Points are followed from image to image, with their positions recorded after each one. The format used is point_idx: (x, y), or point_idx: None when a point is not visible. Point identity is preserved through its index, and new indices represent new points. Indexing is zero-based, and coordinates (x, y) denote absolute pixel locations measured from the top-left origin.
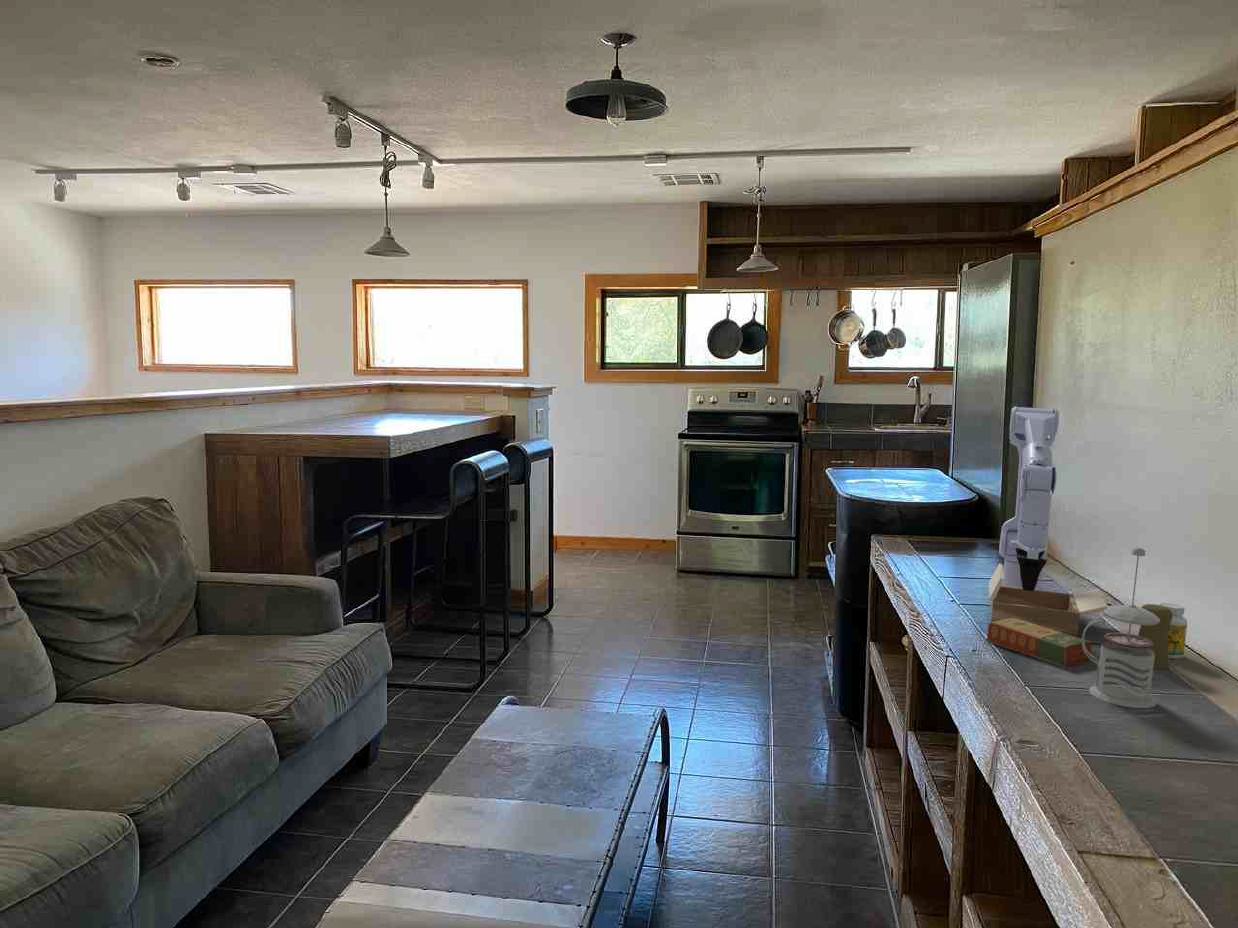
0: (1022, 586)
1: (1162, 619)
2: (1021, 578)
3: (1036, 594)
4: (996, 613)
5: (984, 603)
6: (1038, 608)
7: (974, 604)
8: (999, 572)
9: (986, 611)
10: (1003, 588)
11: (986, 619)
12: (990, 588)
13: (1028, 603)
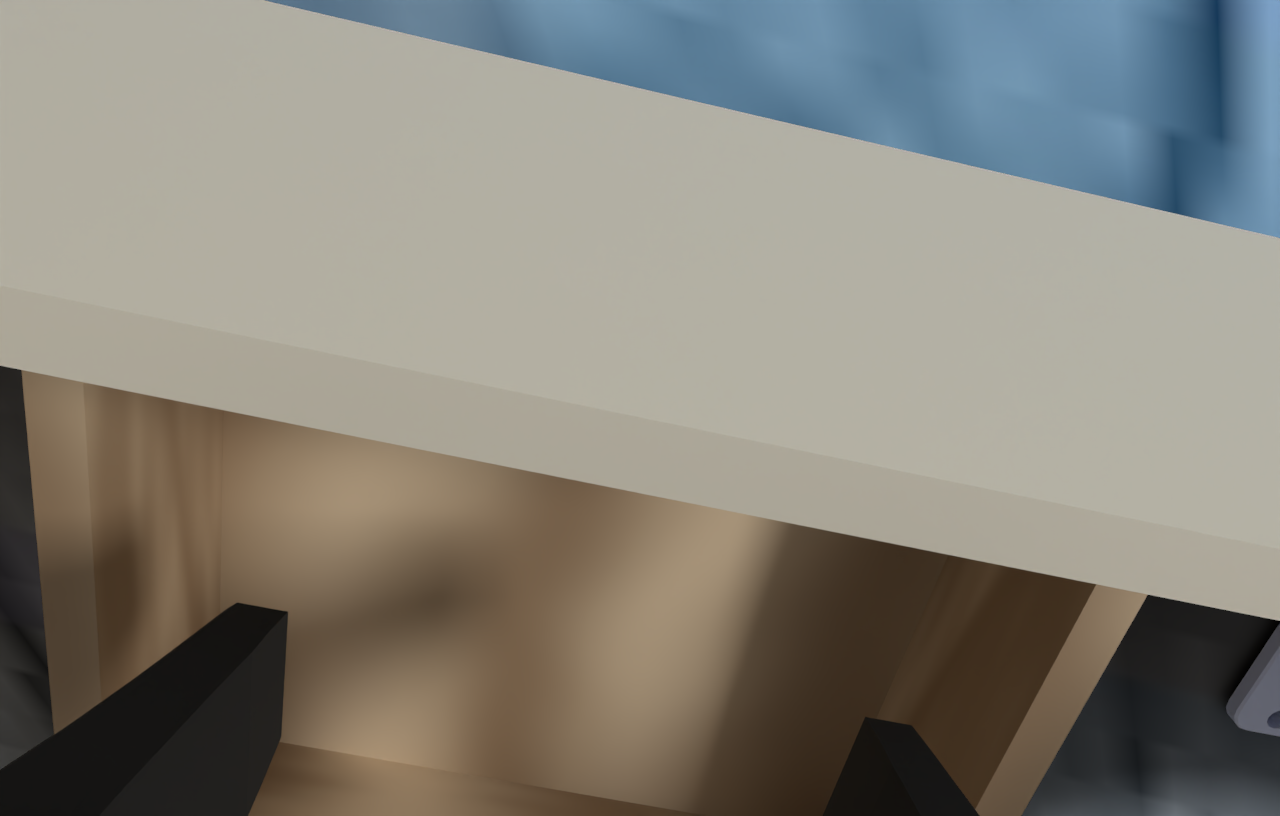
0: (199, 629)
1: None
2: (883, 756)
3: (965, 758)
4: None
5: (1263, 177)
6: (51, 604)
7: (1209, 21)
8: (486, 365)
9: (877, 112)
10: None
11: (490, 19)
12: (672, 124)
13: (955, 616)
